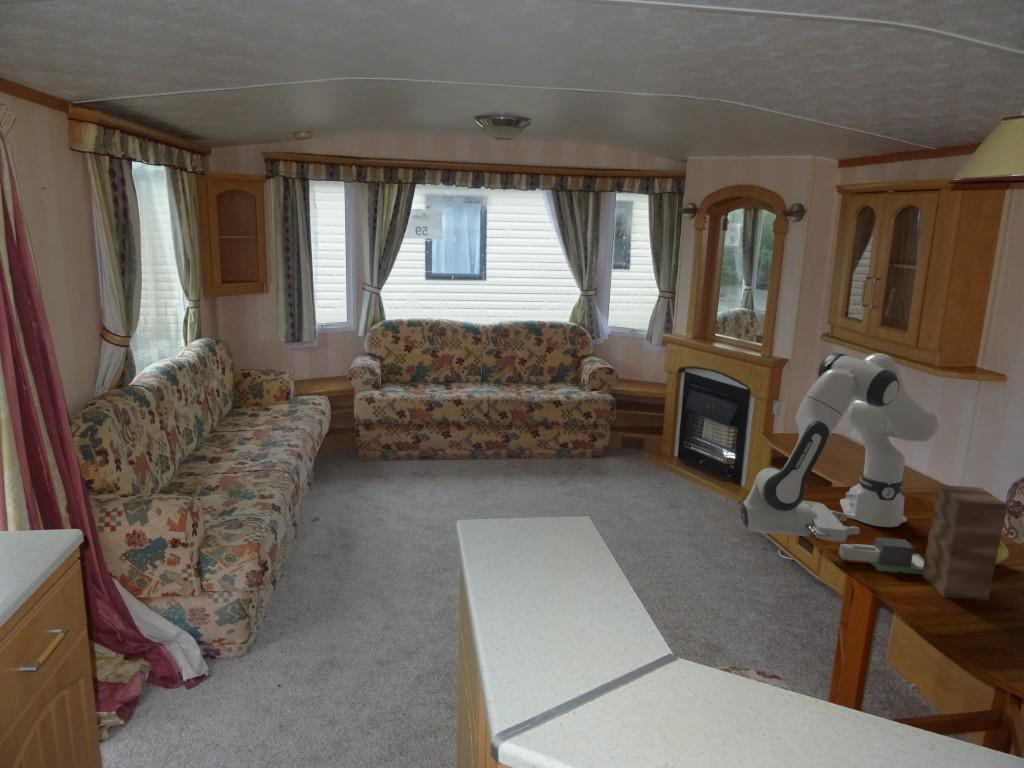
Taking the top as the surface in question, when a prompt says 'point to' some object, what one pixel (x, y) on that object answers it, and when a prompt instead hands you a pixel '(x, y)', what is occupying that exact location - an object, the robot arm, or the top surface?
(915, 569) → the board
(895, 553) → the plug
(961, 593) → the block
